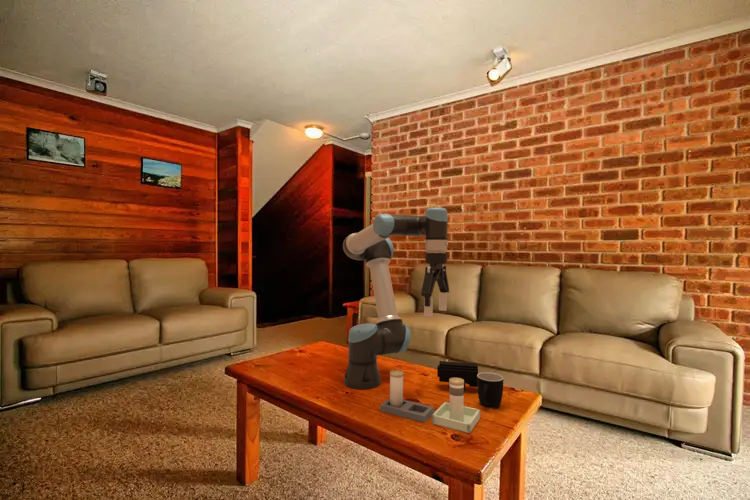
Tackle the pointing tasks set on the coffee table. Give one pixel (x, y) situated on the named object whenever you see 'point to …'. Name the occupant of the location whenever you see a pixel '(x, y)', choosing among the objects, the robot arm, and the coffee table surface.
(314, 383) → the coffee table surface
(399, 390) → the block
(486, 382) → the mug
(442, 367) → the security camera
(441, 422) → the parts tray
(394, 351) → the robot arm
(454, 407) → the fuse
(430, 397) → the coffee table surface
